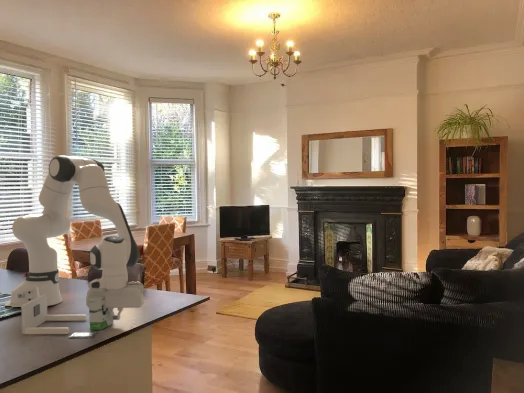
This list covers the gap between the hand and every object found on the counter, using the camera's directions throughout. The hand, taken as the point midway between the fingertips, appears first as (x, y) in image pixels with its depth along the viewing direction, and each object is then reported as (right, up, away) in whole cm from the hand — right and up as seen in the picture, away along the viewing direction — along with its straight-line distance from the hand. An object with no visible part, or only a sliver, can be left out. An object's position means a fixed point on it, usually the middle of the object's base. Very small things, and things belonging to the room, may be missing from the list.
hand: (115, 319), depth 167 cm
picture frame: (-8, -4, -10) cm, 13 cm away
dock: (-22, -3, 0) cm, 22 cm away
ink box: (-5, -3, 0) cm, 6 cm away
